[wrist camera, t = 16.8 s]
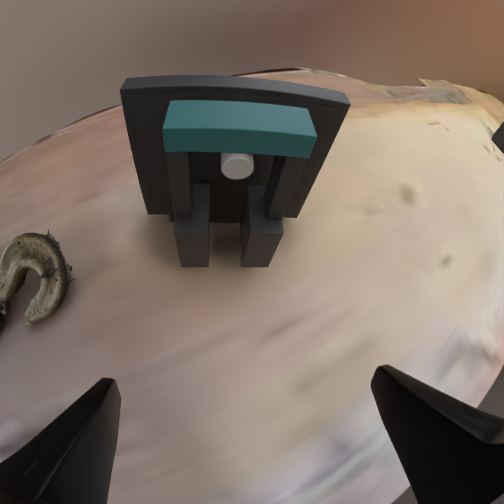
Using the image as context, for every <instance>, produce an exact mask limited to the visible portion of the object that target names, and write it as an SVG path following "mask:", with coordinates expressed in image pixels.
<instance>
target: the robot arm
mask: <svg viewBox="0 0 504 504" xmlns="http://www.w3.org/2000/svg"><path fill="white" fill-rule="evenodd" d="M371 390H372V393H373V395H374V398H375V401H376V404H377V407H378V410H379V413H380V416H381V419H382V421H383V424H384V426H385V428H386V430H387V432H388V435H389V437H390V439H391V441H392V443H393V446H394V448H395V450H396V452H397V455H398V457H399V459H400V461H401V464H402V466H403V468H404V471H405V473H406V475H407V478H408V480H409V482H410V485H411V487H412V490H413V492H414V494H415V497H416V499H417V501H418V504H504V418H501V417H498V416H495V415H492V414H489V413H486V412H484V411H481V410H479V409H476V408H474V407H472V406H470V405H468V404H466V403H463V402H460V401H459V400H457V399H455V398H453V397H451V396H449V395H447V394H445V393H443V392H441V391H439V390H437V389H435V388H433V387H431V386H429V385H427V384H425V383H423V382H421V381H419V380H417V379H415V378H413V377H411V376H409V375H407V374H405V373H403V372H401V371H399V370H397V369H396V368H394V367H392V366H390V365H382V366H378V367H377V369H376V371H375V373H374V376H373V378H372V381H371ZM120 407H121V396H120V392H119V389H118V386H117V383H116V381H115V379H113V378H102V379H100V380H99V381H98V382H97V383H96V384H95V385H94V386H92V387H91V388H90V389H89V390H88V391H87V392H86V393H84V394H83V395H82V396H81V397H80V398H79V399H78V400H76V401H75V402H74V403H73V404H72V405H71V406H70V407H68V408H67V409H66V410H65V411H64V412H63V413H62V414H61V415H59V416H58V417H57V418H56V419H55V420H54V421H53V422H51V423H50V424H49V425H48V426H47V427H46V428H45V429H43V430H42V431H41V432H40V433H39V434H38V436H35V437H34V438H33V439H32V440H31V441H30V442H28V443H27V444H26V445H25V446H24V447H22V448H21V449H20V450H19V451H17V452H16V453H14V454H13V455H12V456H10V457H9V458H7V459H6V460H4V461H3V462H1V463H0V504H107V499H108V492H109V485H110V479H111V473H112V467H113V461H114V456H115V451H116V445H117V439H118V428H119V417H120Z"/></svg>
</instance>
